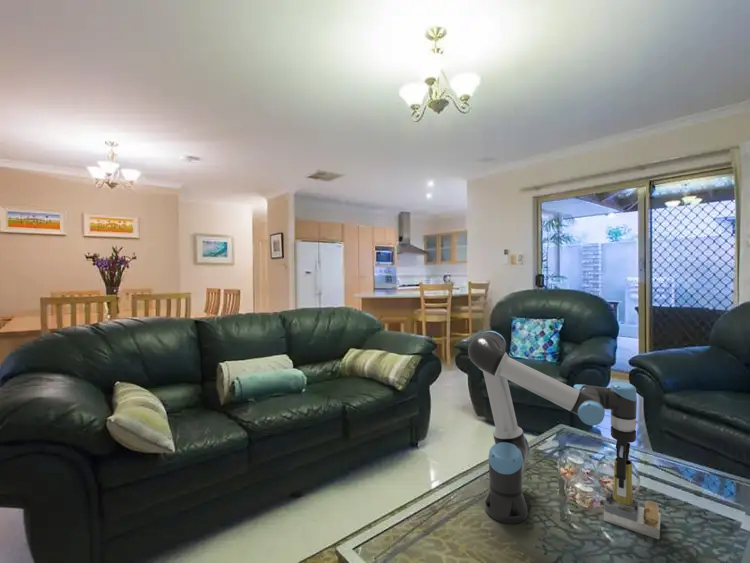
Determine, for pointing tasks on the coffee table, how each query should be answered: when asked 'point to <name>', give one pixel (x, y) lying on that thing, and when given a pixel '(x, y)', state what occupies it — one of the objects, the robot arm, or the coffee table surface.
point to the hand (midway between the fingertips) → (622, 490)
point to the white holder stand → (633, 516)
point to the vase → (628, 498)
